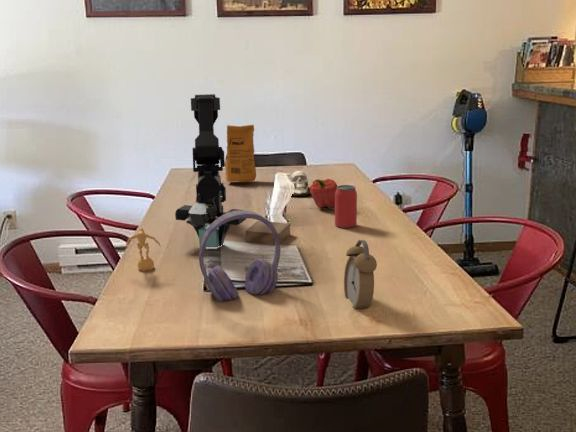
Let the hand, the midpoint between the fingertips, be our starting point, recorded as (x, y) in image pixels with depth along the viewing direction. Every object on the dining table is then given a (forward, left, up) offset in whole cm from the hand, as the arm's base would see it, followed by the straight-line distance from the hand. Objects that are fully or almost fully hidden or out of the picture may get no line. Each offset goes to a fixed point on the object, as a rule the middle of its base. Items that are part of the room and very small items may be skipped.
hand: (211, 244), depth 174 cm
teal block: (0, 0, -1) cm, 1 cm away
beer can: (+30, +31, -1) cm, 43 cm away
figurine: (-8, -22, -1) cm, 23 cm away
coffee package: (-25, +80, -1) cm, 84 cm away
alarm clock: (+47, -26, -1) cm, 54 cm away
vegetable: (+18, +50, -1) cm, 53 cm away
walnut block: (+12, +12, -1) cm, 17 cm away
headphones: (+21, -29, -1) cm, 36 cm away
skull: (+7, +68, -3) cm, 68 cm away
